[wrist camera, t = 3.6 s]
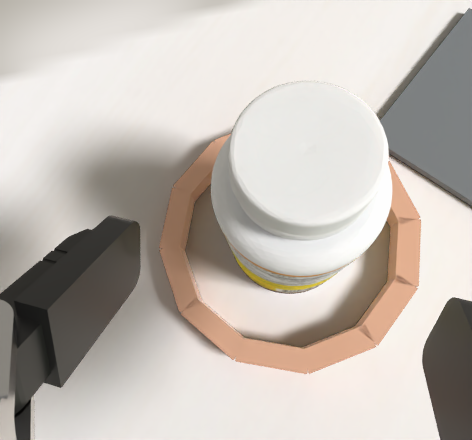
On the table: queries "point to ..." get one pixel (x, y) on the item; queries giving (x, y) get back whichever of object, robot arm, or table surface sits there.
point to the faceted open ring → (274, 354)
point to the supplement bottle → (302, 185)
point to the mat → (438, 115)
